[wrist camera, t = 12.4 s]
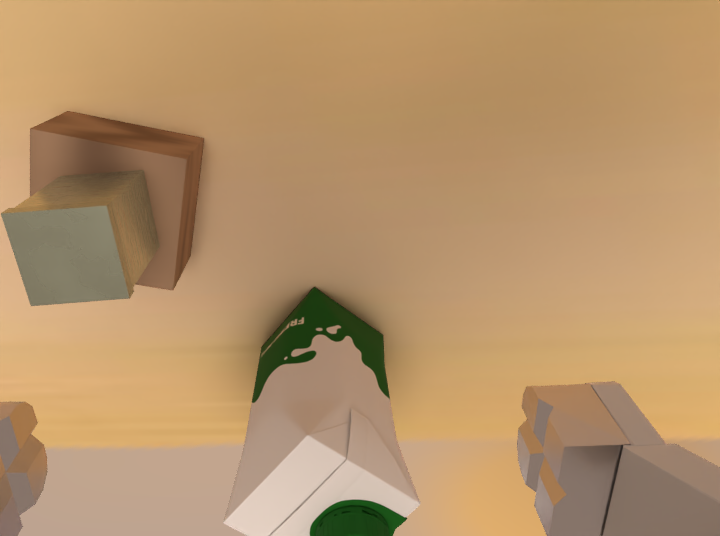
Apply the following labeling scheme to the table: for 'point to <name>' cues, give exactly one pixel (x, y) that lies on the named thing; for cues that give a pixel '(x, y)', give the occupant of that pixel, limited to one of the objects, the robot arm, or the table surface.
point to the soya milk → (321, 433)
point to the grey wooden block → (83, 237)
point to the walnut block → (128, 153)
